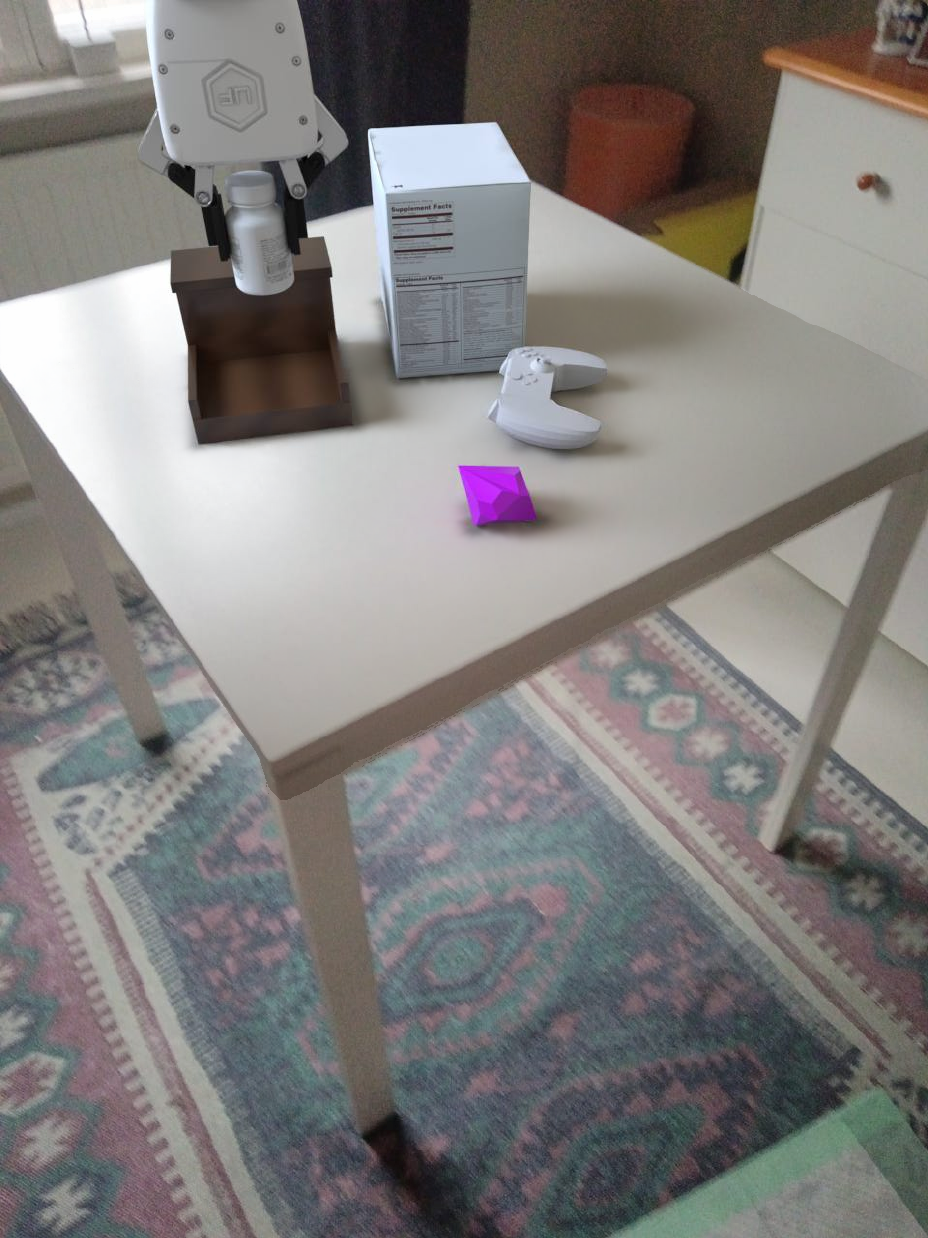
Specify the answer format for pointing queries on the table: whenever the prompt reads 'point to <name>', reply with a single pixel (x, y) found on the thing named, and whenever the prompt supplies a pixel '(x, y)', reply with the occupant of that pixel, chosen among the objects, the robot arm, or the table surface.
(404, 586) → the table surface
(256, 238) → the pill bottle
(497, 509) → the crystal
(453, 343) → the supplement box
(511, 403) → the game controller
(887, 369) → the table surface
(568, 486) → the table surface
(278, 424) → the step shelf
